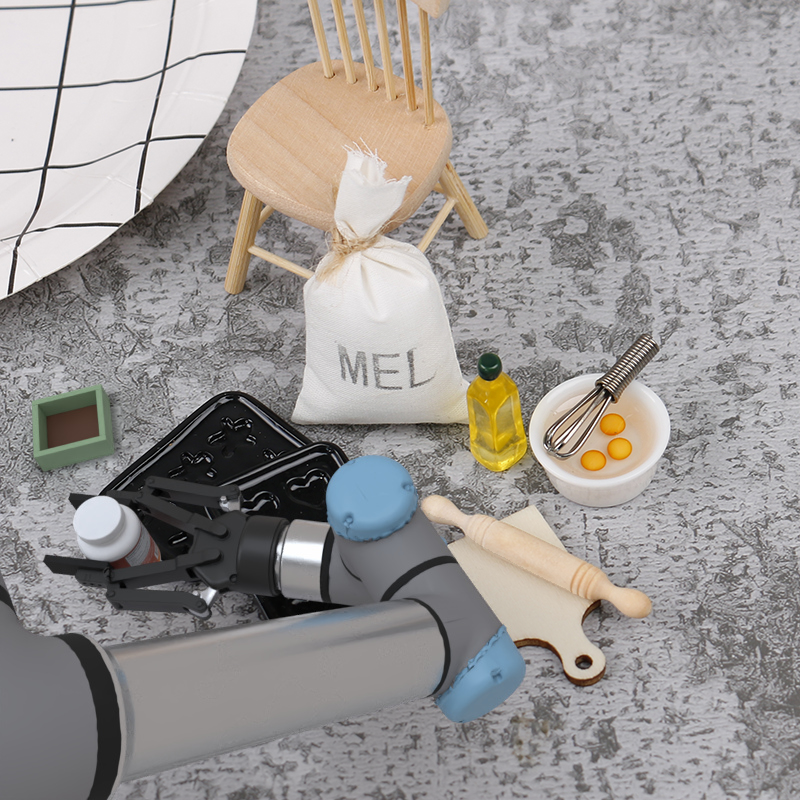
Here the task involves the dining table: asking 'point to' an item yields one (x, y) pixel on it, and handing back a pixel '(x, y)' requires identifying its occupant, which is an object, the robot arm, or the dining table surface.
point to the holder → (72, 427)
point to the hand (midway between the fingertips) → (62, 532)
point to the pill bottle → (113, 534)
